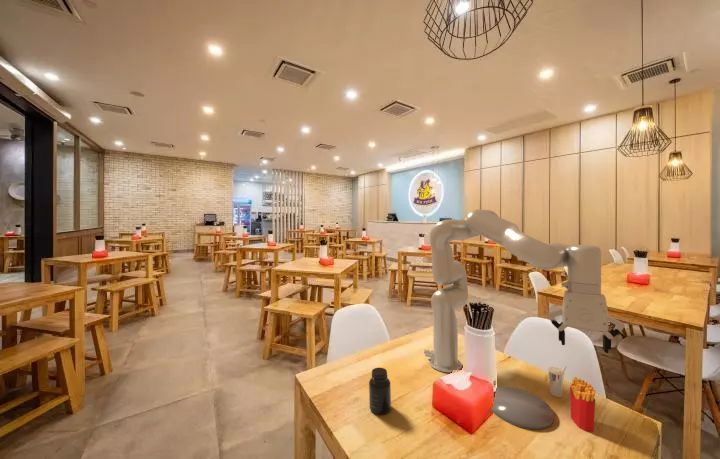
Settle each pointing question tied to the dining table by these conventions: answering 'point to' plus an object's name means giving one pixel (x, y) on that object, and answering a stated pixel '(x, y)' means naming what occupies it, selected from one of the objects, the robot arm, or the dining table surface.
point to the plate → (522, 408)
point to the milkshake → (556, 380)
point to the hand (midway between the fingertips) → (583, 347)
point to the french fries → (582, 404)
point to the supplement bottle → (379, 392)
